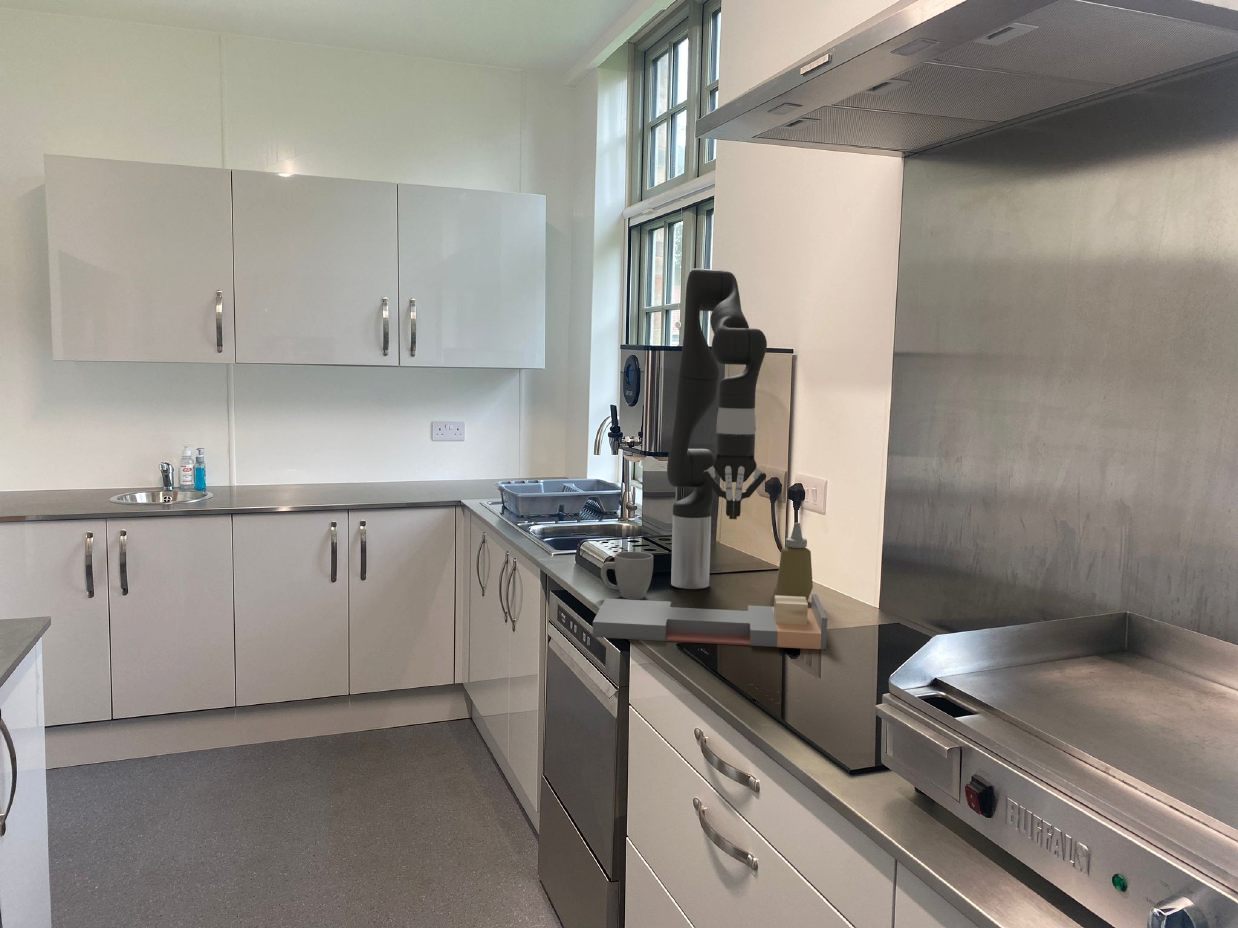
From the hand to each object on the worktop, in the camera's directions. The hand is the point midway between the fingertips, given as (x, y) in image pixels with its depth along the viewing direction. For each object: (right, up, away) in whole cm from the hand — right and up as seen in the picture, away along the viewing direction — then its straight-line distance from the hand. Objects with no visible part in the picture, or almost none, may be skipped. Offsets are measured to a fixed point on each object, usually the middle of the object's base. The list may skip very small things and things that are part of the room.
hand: (732, 518), depth 169 cm
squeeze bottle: (+17, -21, +25) cm, 37 cm away
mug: (-21, -20, +27) cm, 39 cm away
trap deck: (-5, -22, +2) cm, 23 cm away
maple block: (+11, -20, -1) cm, 23 cm away
